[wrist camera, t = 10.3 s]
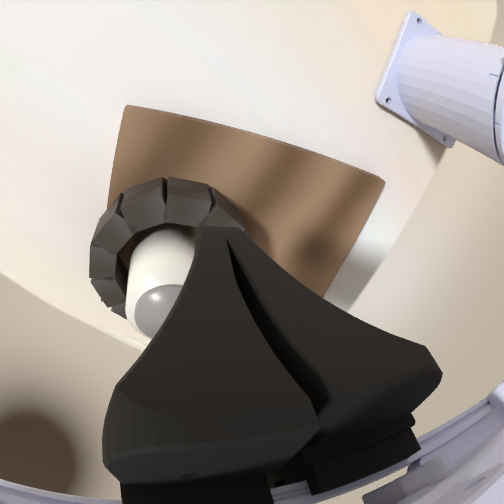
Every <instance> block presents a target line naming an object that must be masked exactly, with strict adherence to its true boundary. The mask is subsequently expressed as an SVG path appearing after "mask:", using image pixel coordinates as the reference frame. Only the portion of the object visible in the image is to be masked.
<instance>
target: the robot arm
mask: <svg viewBox="0 0 504 504" xmlns="http://www.w3.org/2000/svg"><path fill="white" fill-rule="evenodd" d="M417 19H418V23H417ZM387 98H388V102H387V103H386V99H387ZM375 100H376V102H378V103H379V104H381V105H382V106H384V107H386V108H388V109H389V110H391V111H393V112H394V113H396V114H398V115H399V116H401V117H403V118H404V119H406V120H407V121H409V122H411V123H412V124H414V125H415V126H417V127H418V128H420V129H421V130H423V131H424V132H426V133H427V134H429V135H430V136H432V137H433V138H435V139H436V140H437V141H439V142H440V143H442V144H443V145H444V146H446V147H448V148H452V147H453V145H454V143H455V141H456V140H458V141H460V142H462V143H464V144H466V145H468V146H469V147H471V148H473V149H475V150H477V151H479V152H480V153H482V154H484V155H486V156H487V157H489V158H491V159H493V160H494V161H496V162H498V163H499V164H501V165H503V166H504V47H502V46H498V45H493V44H489V43H484V42H479V41H474V40H469V39H463V38H456V37H449V36H443V35H442V34H441V33H440V32H438V31H437V30H436V29H435V28H434V27H433V26H432V25H431V24H429V23H428V22H427V21H426V20H425V19H423V18H422V17H421V16H420V15H419V14H417V13H416V12H414V11H409V12H407V14H406V17H405V19H404V22H403V25H402V28H401V30H400V33H399V36H398V38H397V41H396V44H395V46H394V49H393V51H392V54H391V57H390V59H389V62H388V64H387V67H386V69H385V72H384V74H383V77H382V79H381V82H380V84H379V87H378V89H377V91H376V94H375ZM442 374H443V373H442V371H441V370H440V368H439V366H438V365H437V363H436V362H435V360H434V358H433V357H432V355H431V354H430V352H429V351H428V349H427V348H426V347H425V346H423V345H420V344H418V343H415V342H412V341H409V340H406V339H404V338H401V337H398V336H395V335H393V334H390V333H388V332H386V331H383V330H381V329H379V328H377V327H374V326H372V325H370V324H368V323H365V322H364V321H362V320H360V319H358V318H356V317H353V316H352V315H350V314H348V313H347V312H345V311H343V310H341V309H340V308H338V307H336V306H334V305H333V304H331V303H329V302H328V301H326V300H325V299H323V298H322V297H320V296H319V295H317V294H316V293H314V292H313V291H311V290H310V289H308V288H307V287H306V286H304V285H303V284H302V283H300V282H299V281H298V280H296V279H295V278H294V277H293V276H291V275H290V274H289V273H288V272H286V271H285V270H284V269H283V268H282V267H281V266H279V265H278V264H277V263H276V262H275V261H274V260H273V259H271V258H270V257H269V256H268V255H267V254H266V253H265V252H264V251H263V250H262V249H261V248H260V247H259V246H258V245H257V244H256V243H254V242H253V241H252V240H251V239H250V238H249V237H248V236H247V235H246V234H245V233H244V232H243V231H242V230H241V229H240V228H239V227H218V226H200V227H198V228H197V229H196V238H195V250H194V257H193V261H192V264H191V267H190V269H189V272H188V275H187V277H186V280H185V282H184V285H183V287H182V289H181V291H180V293H179V295H178V297H177V299H176V301H175V303H174V305H173V307H172V309H171V310H170V312H169V314H168V316H167V317H166V319H165V321H164V322H163V324H162V326H161V327H160V329H159V330H158V332H157V333H156V335H155V336H154V337H153V339H152V340H151V342H150V343H149V344H148V346H147V347H146V349H145V350H144V352H143V353H142V354H141V356H140V357H139V358H138V360H137V361H136V362H135V363H134V364H133V365H132V367H131V368H130V369H129V370H128V371H127V372H126V374H125V375H124V376H123V377H122V378H121V380H120V381H119V382H118V383H117V384H116V386H115V389H114V391H113V394H112V397H111V400H110V403H109V406H108V410H107V413H106V417H105V421H104V427H103V434H102V435H103V436H102V447H103V448H102V452H103V463H104V466H105V467H106V468H107V469H108V470H109V471H110V472H111V473H112V474H113V475H114V476H115V477H116V478H117V479H118V480H119V481H120V488H121V498H122V500H109V499H98V498H88V497H79V496H73V495H67V494H61V493H55V492H50V491H45V490H40V489H35V488H31V487H27V486H23V485H19V484H15V483H12V482H8V481H5V480H2V479H0V504H314V503H318V502H321V501H324V500H327V499H330V498H333V497H336V496H338V495H342V494H344V493H347V492H350V491H352V490H355V489H357V488H360V487H362V486H365V485H367V484H370V483H372V482H374V481H377V480H379V479H381V478H383V477H386V476H388V475H390V474H392V473H394V472H396V471H398V470H400V469H402V468H404V467H406V466H408V465H409V466H408V469H407V473H406V474H405V475H403V476H401V477H399V478H397V479H395V480H394V481H392V482H390V483H388V484H386V485H384V486H382V487H380V488H378V489H376V490H374V491H371V492H369V493H367V494H365V495H363V497H362V499H363V502H364V504H504V381H503V382H501V383H500V384H499V385H498V386H497V387H496V388H495V389H494V390H492V392H490V394H488V396H487V397H486V398H485V399H483V400H481V401H480V402H479V403H477V404H475V405H474V406H472V407H471V408H469V409H468V410H466V411H464V412H463V413H461V414H460V415H458V416H456V417H455V418H453V419H451V420H449V421H448V422H446V423H444V424H442V425H441V426H439V427H437V428H435V429H433V430H432V431H430V432H428V433H426V434H424V435H422V436H420V437H418V438H416V437H415V435H414V433H413V432H412V430H411V427H412V426H414V425H415V419H414V417H413V416H412V414H411V412H413V411H414V410H415V409H416V408H417V407H418V406H419V405H420V404H421V403H422V402H423V401H424V400H425V399H426V398H427V397H428V396H429V395H430V394H431V393H432V392H433V391H434V390H435V389H436V388H437V386H438V385H439V383H440V382H441V378H442Z"/></svg>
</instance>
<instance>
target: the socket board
mask: <svg viewBox="0 0 504 504" xmlns="http://www.w3.org/2000/svg"><path fill="white" fill-rule="evenodd" d="M384 184H385V181H384V180H382V179H381V178H380V177H378V176H376V175H374V174H371V173H369V172H366V171H364V170H361V169H359V168H356V167H354V166H351V165H348V164H346V163H343V162H340V161H338V160H335V159H332V158H329V157H327V156H324V155H321V154H318V153H315V152H312V151H310V150H307V149H304V148H301V147H298V146H294V145H291V144H288V143H285V142H282V141H279V140H275V139H272V138H269V137H266V136H262V135H259V134H255V133H252V132H248V131H245V130H241V129H237V128H234V127H230V126H226V125H222V124H218V123H214V122H210V121H206V120H201V119H197V118H193V117H188V116H184V115H179V114H174V113H169V112H164V111H159V110H154V109H149V108H143V107H137V106H131V105H127V106H126V107H125V108H124V112H123V117H122V121H121V126H120V131H119V135H118V140H117V146H116V151H115V157H114V162H113V168H112V175H111V181H110V188H109V196H108V204H107V210H106V211H105V213H104V214H103V215H102V217H101V218H100V219H99V222H98V224H97V227H96V230H95V233H94V236H93V239H92V242H91V245H90V265H89V278H92V279H91V284H92V285H93V287H94V288H95V290H96V291H97V293H98V294H99V296H100V297H101V301H103V302H104V303H105V305H106V306H107V308H108V307H112V309H111V311H112V312H114V313H116V314H118V315H120V316H121V317H123V318H125V319H127V316H126V311H125V307H126V296H127V286H128V277H129V269H130V261H131V253H132V246H133V242H134V239H135V237H136V235H137V234H138V233H139V231H141V230H144V229H147V228H150V227H153V226H156V225H159V224H163V223H166V222H169V223H175V224H181V225H187V226H193V227H196V228H198V227H200V226H218V227H239V228H240V229H241V230H242V231H243V232H244V233H245V234H246V235H247V236H248V237H249V238H250V239H251V240H252V241H253V242H254V243H256V244H257V245H258V246H259V247H260V248H261V249H262V250H263V251H264V252H265V253H266V254H267V255H268V256H269V257H270V258H271V259H273V260H274V261H275V262H276V263H277V264H278V265H279V266H281V267H282V268H283V269H284V270H285V271H286V272H288V273H289V274H290V275H291V276H293V277H294V278H295V279H296V280H298V281H299V282H300V283H302V284H303V285H304V286H306V287H307V288H308V289H310V290H311V291H313V292H314V293H316V294H317V295H319V296H320V297H322V298H323V296H324V294H325V293H326V291H327V289H328V287H329V286H330V284H331V282H332V281H333V279H334V277H335V276H336V274H337V272H338V270H339V269H340V267H341V265H342V263H343V262H344V260H345V258H346V256H347V255H348V253H349V251H350V249H351V247H352V246H353V244H354V242H355V240H356V238H357V236H358V235H359V233H360V231H361V229H362V227H363V225H364V223H365V222H366V220H367V218H368V216H369V214H370V212H371V210H372V208H373V206H374V204H375V202H376V200H377V198H378V196H379V194H380V192H381V190H382V188H383V186H384ZM127 320H128V319H127Z"/></svg>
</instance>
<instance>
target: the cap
mask: <svg viewBox="0 0 504 504" xmlns="http://www.w3.org/2000/svg"><path fill="white" fill-rule="evenodd" d="M196 229H197V228H196V227H193V226H187V225H181V224H175V223H169V222H166V223H163V224H159V225H156V226H153V227H150V228H147V229H144V230H141V231H139V233H138V234H137V235H136V237H135V239H134V242H133V246H132V253H131V261H130V269H129V277H128V286H127V296H126V307H125V311H126V316H127V319H128V321H129V323H130V324H131V326H132V327H133V328H134V329H135V330H136V331H137V332H139V333H140V334H142V335H143V336H146V337H148V338H150V339H153V337H154V336H155V335H156V333H157V332H158V330H159V329H160V327H161V326H162V324H163V322H164V321H165V319H166V317H167V316H168V314H169V312H170V310H171V309H172V307H173V305H174V303H175V301H176V299H177V297H178V295H179V293H180V291H181V289H182V287H183V285H184V282H185V280H186V277H187V275H188V272H189V269H190V267H191V264H192V261H193V257H194V250H195V238H196Z"/></svg>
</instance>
